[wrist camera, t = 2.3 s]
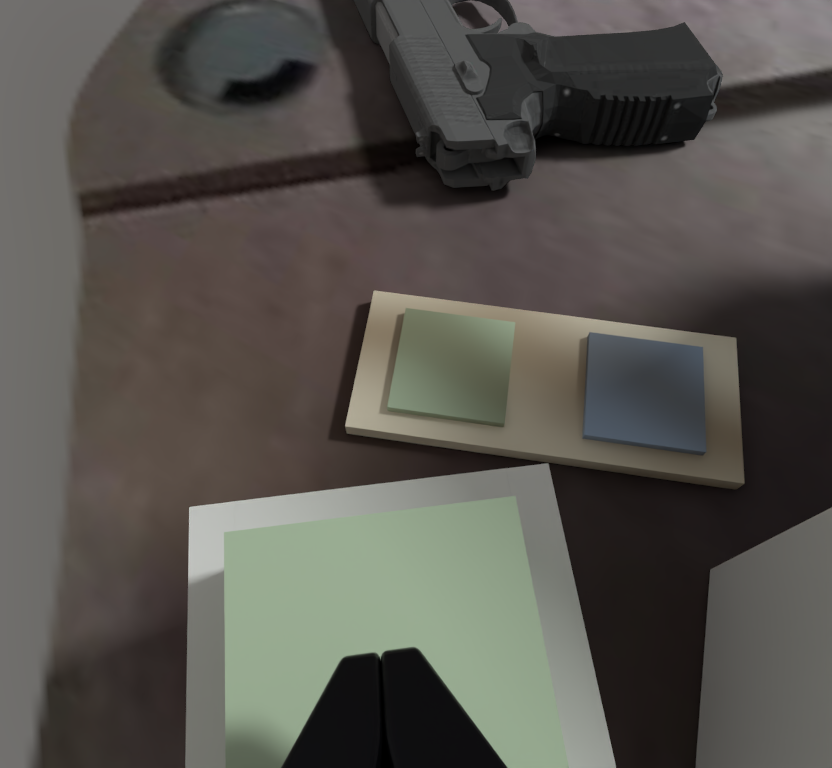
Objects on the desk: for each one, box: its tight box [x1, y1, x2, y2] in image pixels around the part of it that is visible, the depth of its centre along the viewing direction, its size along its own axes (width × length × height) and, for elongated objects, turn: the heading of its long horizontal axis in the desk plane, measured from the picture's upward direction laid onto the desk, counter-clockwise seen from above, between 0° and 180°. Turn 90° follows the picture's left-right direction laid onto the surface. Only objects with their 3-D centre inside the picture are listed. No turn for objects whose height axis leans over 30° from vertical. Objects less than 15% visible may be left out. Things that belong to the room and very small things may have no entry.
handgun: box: [354, 0, 723, 191], centre depth 29 cm, size 3×16×12 cm
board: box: [345, 291, 745, 490], centre depth 22 cm, size 5×12×1 cm, turn 81°
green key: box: [224, 496, 569, 768], centre depth 13 cm, size 4×4×7 cm
